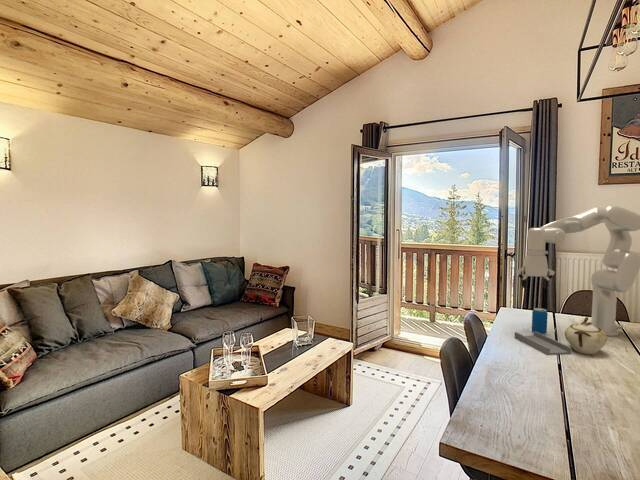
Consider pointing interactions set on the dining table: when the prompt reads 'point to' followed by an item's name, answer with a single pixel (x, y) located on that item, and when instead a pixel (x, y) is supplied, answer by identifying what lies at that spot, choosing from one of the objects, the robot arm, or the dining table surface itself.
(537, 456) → the dining table surface
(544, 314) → the beverage can
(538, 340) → the tray
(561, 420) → the dining table surface
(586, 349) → the sugar bowl
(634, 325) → the dining table surface
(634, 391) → the dining table surface
